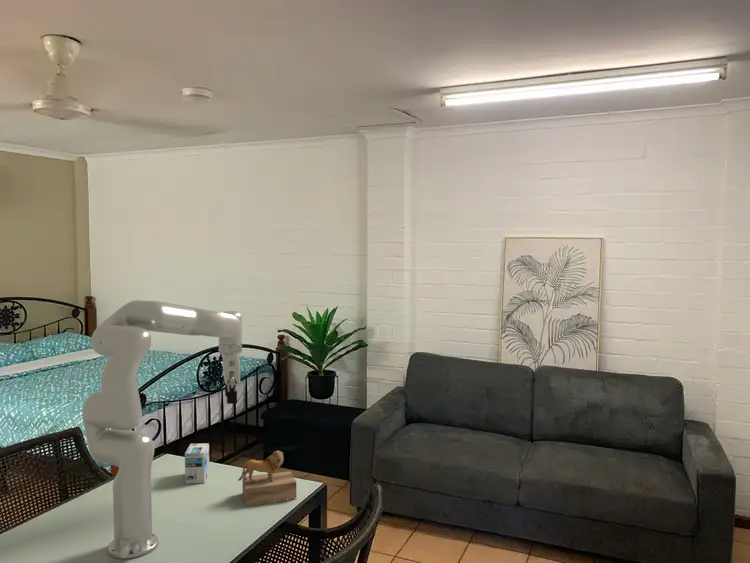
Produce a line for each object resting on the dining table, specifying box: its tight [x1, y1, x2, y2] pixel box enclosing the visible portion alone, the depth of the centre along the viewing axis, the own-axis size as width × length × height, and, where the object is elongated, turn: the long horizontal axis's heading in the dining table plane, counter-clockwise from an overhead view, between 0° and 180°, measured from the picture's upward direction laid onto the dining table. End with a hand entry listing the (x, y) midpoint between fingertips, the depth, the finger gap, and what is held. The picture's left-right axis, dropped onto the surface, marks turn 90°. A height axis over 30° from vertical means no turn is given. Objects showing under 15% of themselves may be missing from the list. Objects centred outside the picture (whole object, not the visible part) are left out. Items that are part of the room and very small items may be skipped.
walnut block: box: [241, 470, 297, 507], centre depth 192 cm, size 10×16×6 cm, turn 109°
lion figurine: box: [237, 450, 285, 483], centre depth 191 cm, size 15×5×9 cm, turn 106°
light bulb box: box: [184, 442, 210, 485], centre depth 207 cm, size 11×7×11 cm, turn 7°
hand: (231, 399), depth 196 cm, fingers open, 9 cm apart
